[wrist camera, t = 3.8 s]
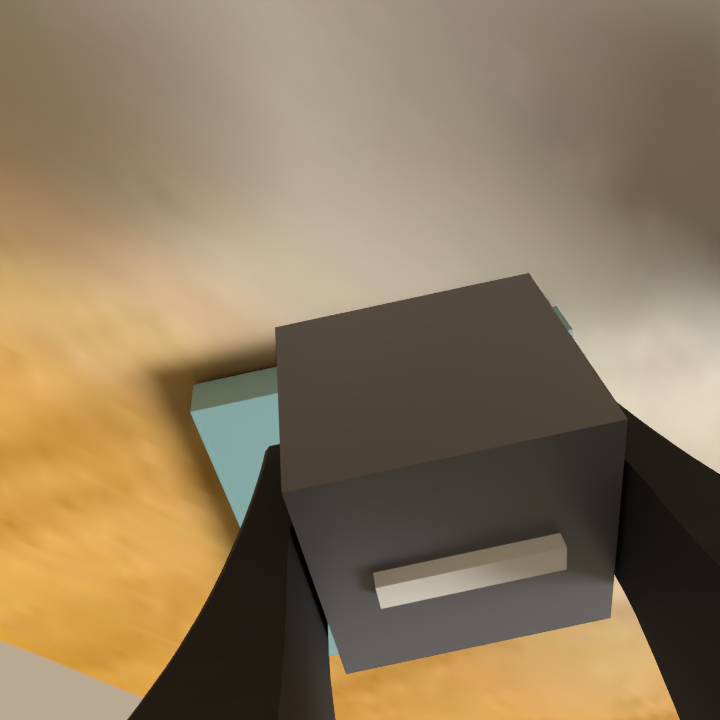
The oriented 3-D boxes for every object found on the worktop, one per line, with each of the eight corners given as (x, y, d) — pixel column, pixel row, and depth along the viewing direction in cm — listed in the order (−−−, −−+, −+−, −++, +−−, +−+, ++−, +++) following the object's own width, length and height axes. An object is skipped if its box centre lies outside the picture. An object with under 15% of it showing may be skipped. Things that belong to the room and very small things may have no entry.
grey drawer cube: (528, 273, 14) (637, 432, 10) (533, 455, 17) (616, 632, 13) (275, 327, 14) (281, 508, 10) (327, 499, 17) (347, 688, 13)
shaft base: (556, 306, 24) (610, 384, 20) (556, 578, 33) (593, 665, 29) (193, 384, 24) (181, 476, 20) (297, 633, 33) (302, 727, 30)
